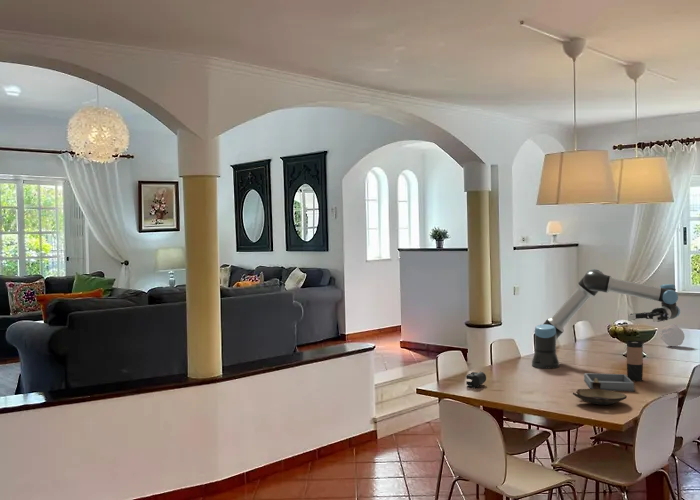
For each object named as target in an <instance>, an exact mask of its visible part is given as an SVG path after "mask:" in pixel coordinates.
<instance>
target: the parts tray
mask: <svg viewBox="0 0 700 500" xmlns="http://www.w3.org/2000/svg"><path fill="white" fill-rule="evenodd" d="M595 378H597V379H598V381H599V383H601V386H600V389H602V390H609V391H614V392H635V382H634V381H631V380H630V379H629V378H628V377H627V374H626V373H625V374H622V373H620V374H619V373H595V372H594V373H590V372H589V373H587V372H584V374H583V379H584V380H583V381H584V383H585V384H586V386H587V387H588V389H593V386H592V383H593V382H594V379H595Z"/></svg>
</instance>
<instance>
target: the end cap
mask: <svg viewBox="0 0 700 500" xmlns="http://www.w3.org/2000/svg"><path fill="white" fill-rule="evenodd" d="M465 377H466V378H465V379H467V380H468V381H466V382H465V383H466V388H469V389H477V388H478V387H479V386H481V385H483V384H484V383H485V382H486V381H487V375H486V374H485V373H484V372H483V371H479V372H476V371H473V372H471V373H468V374H466V376H465ZM469 380H471V381H469Z"/></svg>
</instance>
